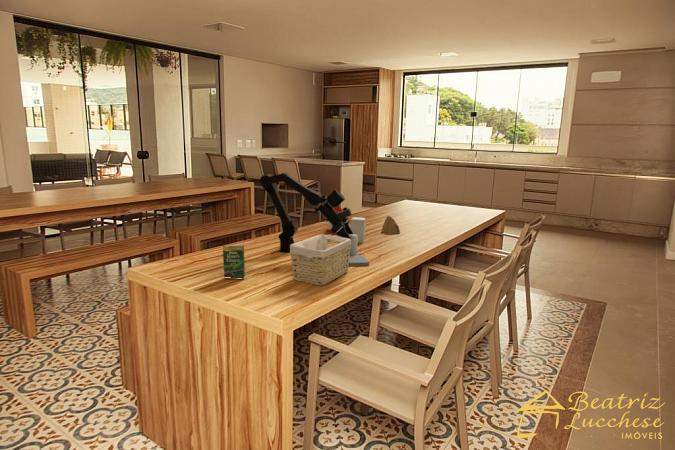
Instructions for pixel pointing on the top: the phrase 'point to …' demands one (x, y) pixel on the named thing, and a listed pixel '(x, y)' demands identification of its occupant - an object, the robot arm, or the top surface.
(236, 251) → the coffee box
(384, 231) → the rock
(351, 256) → the shelf board
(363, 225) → the supplement box
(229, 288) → the top surface
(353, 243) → the white dome-topped cylinder
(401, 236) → the top surface
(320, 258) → the storage basket
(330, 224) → the kitchen timer
